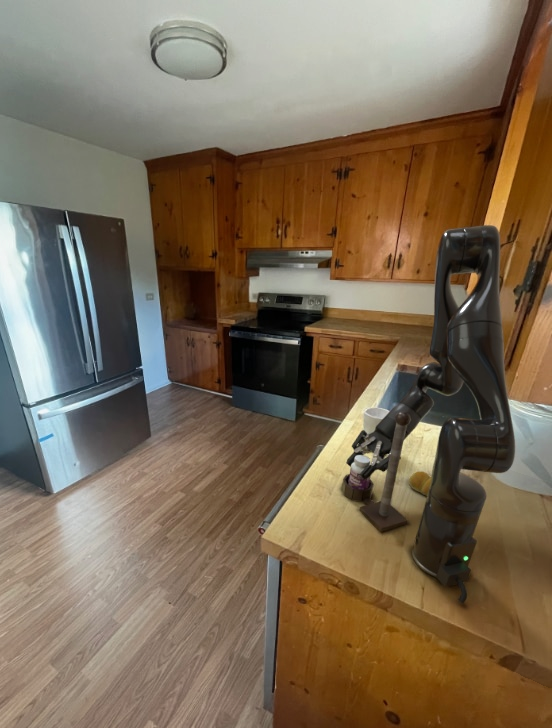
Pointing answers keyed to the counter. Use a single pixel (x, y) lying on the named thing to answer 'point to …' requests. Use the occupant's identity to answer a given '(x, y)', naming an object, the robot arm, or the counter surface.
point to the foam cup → (373, 418)
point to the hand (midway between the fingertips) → (355, 470)
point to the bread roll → (420, 482)
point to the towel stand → (382, 511)
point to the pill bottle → (355, 471)
